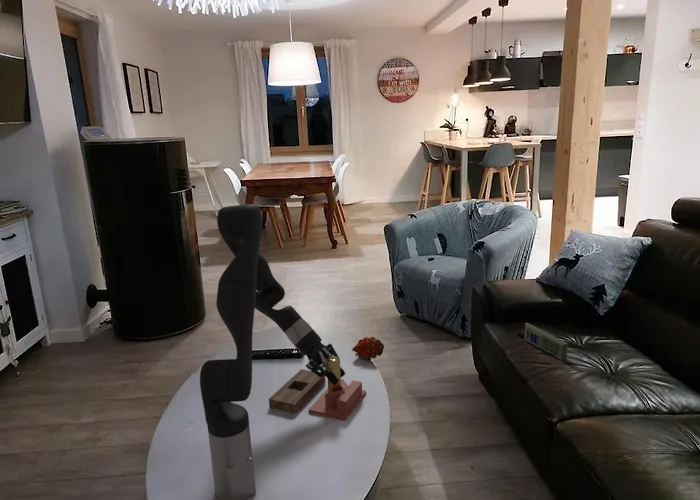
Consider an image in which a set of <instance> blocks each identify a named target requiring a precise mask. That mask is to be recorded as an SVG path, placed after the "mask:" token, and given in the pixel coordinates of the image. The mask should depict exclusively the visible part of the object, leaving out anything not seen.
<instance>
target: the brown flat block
mask: <svg viewBox="0 0 700 500" xmlns="http://www.w3.org/2000/svg"><path fill="white" fill-rule="evenodd" d="M325 383H326V376H322V377H319V376H318V375H316V374H315V373H313V372H312V371H311V370H309V369H308V370H307V369H303V368H301V369H299V370H298V372H296V373H295V374H294V375H293V376H292V377H291V378H290V379H288V380H287V382H285V383H284V384H283V385H282V386H281V387H280V388H279V389H278V390H277V391H276V392H274V393H273V394H272V395H271V396H270V397H268V405H269V408H270V409H274V410H279V411H282V412H287V413H291V414H297V412H298V411H300V409H301V408H302V407H303V406H304V405H305V404H306V403H307V402H308V401H309V400H310V399H311V398H312V397H313V396H314V394H315V393H317V391H318V390H319V389H320V388H321V387H322V386H323V385H324V384H325Z"/></svg>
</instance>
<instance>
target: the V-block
mask: <svg viewBox="0 0 700 500" xmlns="http://www.w3.org/2000/svg"><path fill="white" fill-rule="evenodd" d="M366 394H367V390H364V389H363V382H362V381H358V380H353V379H352V381H351V382H350V383H349V385H348V384H347V382H346V381H345V380H344V378H341V390H339V391H334V392H330V393H328V388H327V389H326V390H325V391H324V392H323V393H322V394H321V395H320V396H319V397H318V398H317V400H316V401H315V402H314V403H313V404H312V405H311V406H310V407H309V408H308V413H310V414H314V415H318V416H323V417H326V418H331V419H335V420H339V421H344V422H346V421H347V419H348V418H349V416H351V414H352V412H353V411H354V410H355V409H356V408H357V406H358V405H359V403H361V401H362V400H363V398H364V397H365V396H366Z"/></svg>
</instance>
